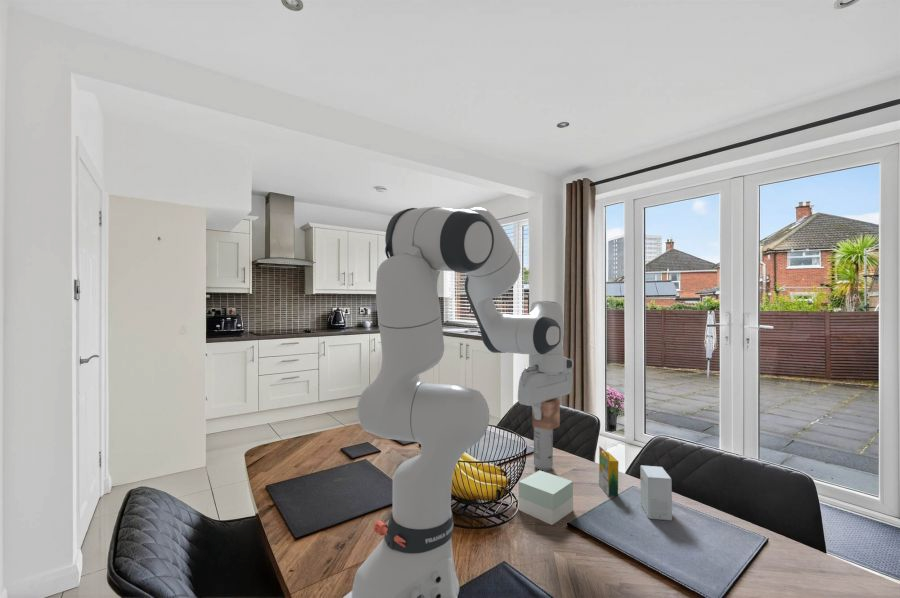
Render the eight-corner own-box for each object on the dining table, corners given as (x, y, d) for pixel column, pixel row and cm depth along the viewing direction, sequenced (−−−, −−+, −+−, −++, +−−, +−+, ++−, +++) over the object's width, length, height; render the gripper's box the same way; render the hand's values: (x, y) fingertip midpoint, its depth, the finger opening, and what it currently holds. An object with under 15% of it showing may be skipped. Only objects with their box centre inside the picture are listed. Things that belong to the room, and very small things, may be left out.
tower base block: (551, 526, 101) (551, 510, 101) (518, 511, 108) (518, 495, 108) (573, 512, 108) (573, 496, 108) (540, 498, 115) (540, 484, 115)
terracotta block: (549, 430, 104) (549, 403, 104) (532, 426, 108) (532, 399, 108) (559, 426, 108) (559, 399, 108) (543, 422, 111) (543, 396, 111)
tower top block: (553, 510, 101) (553, 494, 101) (518, 497, 108) (518, 481, 108) (572, 496, 108) (572, 481, 108) (539, 484, 115) (539, 470, 115)
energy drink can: (553, 472, 132) (553, 424, 132) (534, 470, 133) (534, 424, 133) (551, 464, 138) (551, 419, 138) (533, 463, 139) (533, 418, 139)
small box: (672, 521, 103) (672, 479, 103) (647, 519, 104) (648, 477, 104) (662, 505, 111) (662, 466, 111) (640, 503, 112) (640, 464, 112)
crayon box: (618, 496, 116) (618, 454, 116) (608, 496, 116) (608, 454, 116) (608, 484, 123) (608, 445, 123) (598, 484, 123) (598, 445, 123)
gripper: (532, 369, 98) (532, 427, 98) (577, 360, 113) (576, 411, 113) (511, 366, 103) (511, 422, 103) (556, 358, 117) (556, 407, 117)
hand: (546, 416), depth 108 cm, fingers closed on terracotta block, 5 cm apart
